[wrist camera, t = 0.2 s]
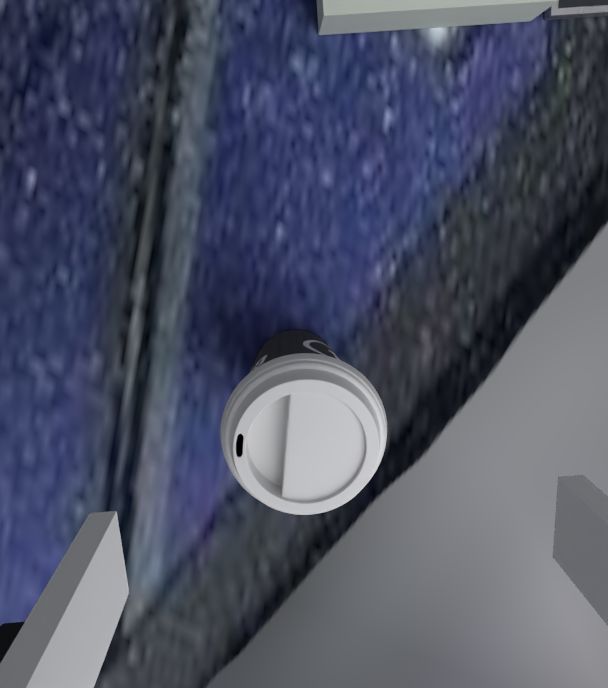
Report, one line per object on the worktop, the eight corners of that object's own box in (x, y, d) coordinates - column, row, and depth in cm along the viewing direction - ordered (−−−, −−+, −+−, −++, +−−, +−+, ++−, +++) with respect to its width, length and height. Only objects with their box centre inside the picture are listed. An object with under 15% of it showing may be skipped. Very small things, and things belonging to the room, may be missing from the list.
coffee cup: (268, 289, 42) (265, 332, 28) (375, 342, 44) (427, 410, 29) (215, 395, 44) (187, 487, 30) (320, 442, 46) (343, 553, 31)
